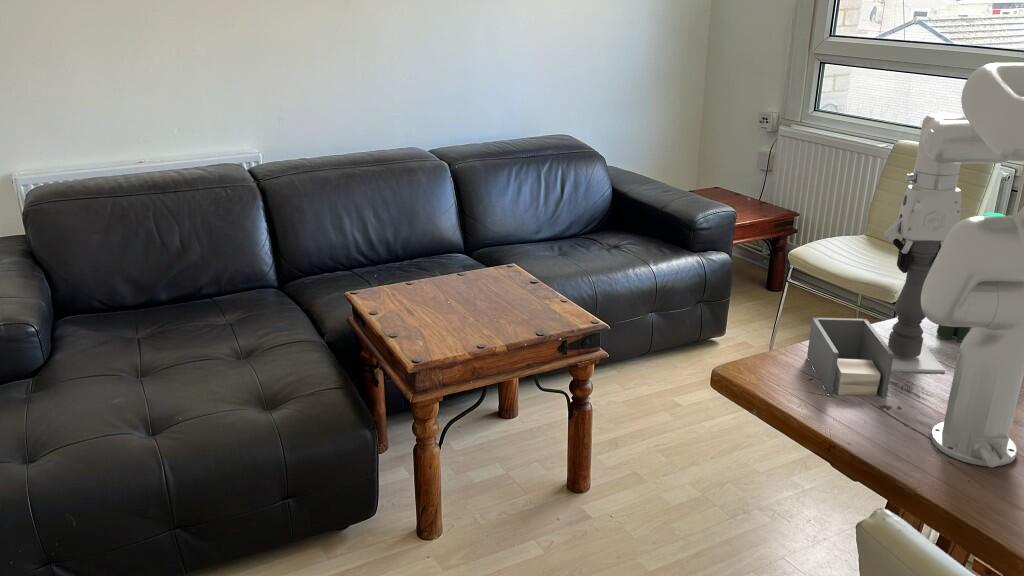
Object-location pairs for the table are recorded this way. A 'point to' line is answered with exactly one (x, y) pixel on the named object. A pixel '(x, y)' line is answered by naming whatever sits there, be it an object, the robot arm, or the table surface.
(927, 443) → the table surface
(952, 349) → the table surface
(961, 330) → the character mug
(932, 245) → the candle holder
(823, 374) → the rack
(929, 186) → the robot arm
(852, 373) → the upper offcut
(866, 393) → the block
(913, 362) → the mat
